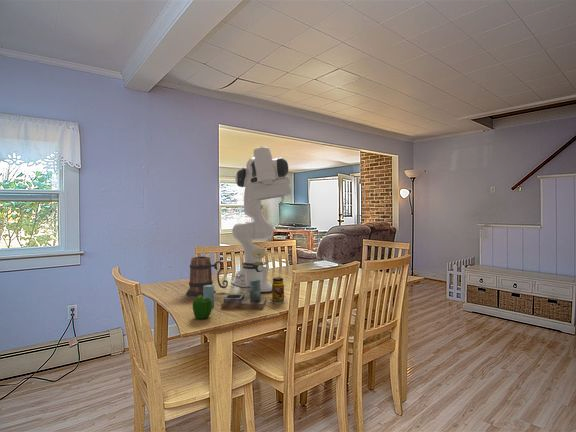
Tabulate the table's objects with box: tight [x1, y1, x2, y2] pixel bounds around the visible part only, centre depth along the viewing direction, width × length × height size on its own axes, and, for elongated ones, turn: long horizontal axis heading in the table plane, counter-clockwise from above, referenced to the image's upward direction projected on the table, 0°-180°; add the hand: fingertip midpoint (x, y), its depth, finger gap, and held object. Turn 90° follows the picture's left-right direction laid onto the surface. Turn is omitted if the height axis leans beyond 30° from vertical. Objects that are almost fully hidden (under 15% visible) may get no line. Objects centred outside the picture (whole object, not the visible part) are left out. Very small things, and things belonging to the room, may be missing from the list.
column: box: [202, 284, 215, 309], centre depth 160 cm, size 5×5×10 cm
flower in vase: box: [252, 247, 272, 293], centre depth 191 cm, size 13×11×25 cm
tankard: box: [185, 256, 229, 298], centre depth 189 cm, size 24×17×20 cm
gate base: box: [220, 279, 267, 310], centre depth 162 cm, size 20×10×12 cm, turn 86°
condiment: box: [266, 276, 288, 305], centre depth 170 cm, size 7×8×12 cm
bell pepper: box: [192, 295, 213, 320], centre depth 144 cm, size 8×8×10 cm
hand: (271, 207), depth 153 cm, fingers open, 8 cm apart
